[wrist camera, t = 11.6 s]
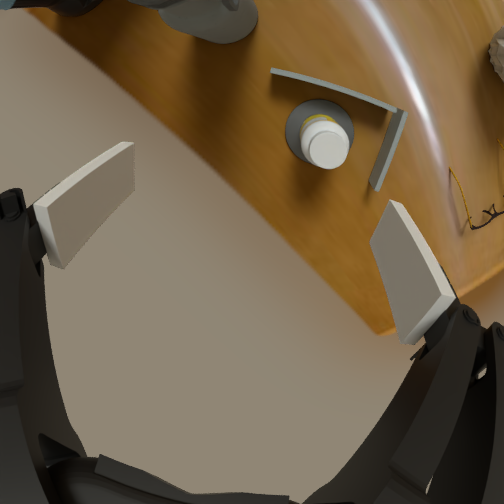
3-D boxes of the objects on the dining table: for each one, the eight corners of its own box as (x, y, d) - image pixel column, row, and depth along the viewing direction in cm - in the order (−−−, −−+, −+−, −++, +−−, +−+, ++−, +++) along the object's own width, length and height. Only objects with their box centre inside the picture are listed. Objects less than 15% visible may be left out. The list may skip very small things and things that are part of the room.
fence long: (271, 72, 35) (270, 72, 32) (272, 68, 35) (271, 67, 32) (387, 109, 36) (396, 113, 33) (388, 105, 35) (397, 108, 32)
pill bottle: (338, 152, 41) (353, 178, 32) (299, 151, 42) (301, 175, 33) (340, 114, 38) (356, 127, 28) (298, 112, 38) (301, 124, 29)
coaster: (278, 154, 43) (278, 154, 43) (294, 91, 37) (294, 91, 36) (341, 172, 44) (342, 172, 43) (361, 112, 37) (362, 112, 37)
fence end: (368, 180, 44) (374, 190, 41) (394, 107, 35) (403, 110, 32) (372, 182, 44) (378, 191, 41) (399, 109, 35) (408, 112, 32)
